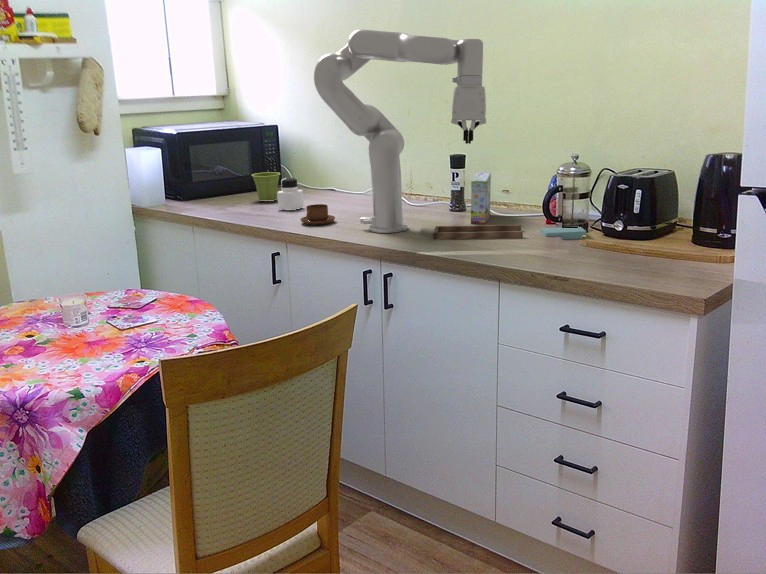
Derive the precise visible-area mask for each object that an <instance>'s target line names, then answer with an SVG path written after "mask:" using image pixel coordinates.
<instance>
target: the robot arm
mask: <svg viewBox="0 0 766 574" xmlns="http://www.w3.org/2000/svg"><path fill="white" fill-rule="evenodd" d="M347 40H348V41H347V44H346V45H345V46H343V48H341V49H340V50H339V51H337V52H335V53H326V54H324V55H323V56H321V57H320V58H319V59H318V61H317V62H316V65H315V67H314V71H313V72H314V73H313V82H314V86H315V90H316V91H317V93H318V96H320V99H322V101H323V102H324V103H325V104H326V105H327V106H328V107H329V108H330V109H331V110H332V112H334V115H336V116H337V117H338V119H340V120H341V121H342V122H343V124H345V126H346V127H347V128H348V129H349V130H350V132H352V133H353V135H356V136H359V137H364V138H365V139H366V140H367V142H369V144H368V157H369V164H370V176H371V178H370V179H371V192H372V193H371V194H372V195H371V196H372V210H373V211H372V212H373V213H372V214H373V215H372V216H370V217H360V220H359V221H360V224H363V225H369V231H370V232H371V233H377V234H390V233H391V234H392V233H399V232H404V231H406V230H408V229H409V225H408V224H407V223H404V221H403V220H404V218H403V215H404V214H403V192H402V191H403V189H402V172H401V171H402V170H401V160H400V159H401V158H400V154H402V152H403V150H404V148H405V139H404V136H403V134H402V133H401V132H400V130H399V129H397V128H396V127H395V126H394V124H393V123H392V122H391V121H390V120H389V119H388V118H387V117H386V116H385V115H384V113H382V112H381V111H380V109H378V108H377V107H375V105H371V104H365V103H364V102H363V101H362V100H361V99H359V98H358V97H357V96H356V95H355V93H354V92H353V91H352V90H351V89H350V88H349V87H348V86H347V85H346V84H345V83H344V81H346V80H348V79H349V78H350V77H352V76H354V74H355V73H356V72H358V71H360V69H361V68H363V67H364V66H366V65H367V64H368V62H370V61H372V60H373V61H374V60H376V61H386V62H394V63H397V62H398V63H406V62H408V63H409V62H410V63H421V64H433V65H441V66H443V65H445V66H447V65H453V64H457V72H456V73H457V75H456V77H452V83H455V84H456V86H454V89H453V95H452V105H451V117H452V118H451V121H450V123H451V124H453V125H457V126H459V127H460V128H461V129H462V131H463V135H462V136H463V142H465V145H468V144H469V145H470V144H472V143H471V142H473V141H474V131H475V129H476V128H477V127H478V126H481V125H485V124H486V123H487V118H486V115H487V113H486V112H487V100H486V99H487V98H486V88H485V86H483V67H484V58H483V57H484V43H483V40H482V39H480V38H463V39H459V40H458V39H457V40H456V39H450V38H447V37H437V36H426V35H416V34H415V35H414V34H408V33H404V32H398V31H397V32H395V31H383V30H372V29H363V28H361V29H356V30H354V31H353V32H351V34H350V35H349V37H348V39H347ZM467 121H471V122H470V127H469V129H468V127H467Z"/></svg>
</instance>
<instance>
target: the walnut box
mask: <svg viewBox="0 0 766 574" xmlns="http://www.w3.org/2000/svg"><path fill="white" fill-rule="evenodd" d="M523 235H524V232H523V230H522V224H491V225H490V224H488V225H487V224H475V225H435V228H434V232H433V240H474V239H475V240H478V239H480V240H481V239H487V240H488V239H489V240H490V239H523V237H524V236H523Z"/></svg>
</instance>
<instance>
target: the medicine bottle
mask: <svg viewBox="0 0 766 574" xmlns="http://www.w3.org/2000/svg"><path fill="white" fill-rule="evenodd" d="M280 184H281V191H280V190H279V191H277V205H278V206H277V208H279V209H291V210H294V209H297V208H302V207H304V206H305V205H304V194H303V193H304V191H303V189H298V179H297V178H295V177H287V178H286V177H285V178H283V179H281V181H280ZM304 208H305V207H304ZM279 209H278V210H279ZM302 209H303V208H302Z"/></svg>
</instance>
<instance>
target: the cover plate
mask: <svg viewBox="0 0 766 574" xmlns="http://www.w3.org/2000/svg"><path fill="white" fill-rule="evenodd" d="M577 227H578V228H562V227H541V228H539V229H540V231H539V232H540V233H541V234H542V235H543V236H544V237H545V238H549V237H560V238H561V240H573V239H582V238H581V237H582V236H583V235H586V236H587V230H586V229H584V228H583V227H581V226H580V227H579V226H577Z"/></svg>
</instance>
